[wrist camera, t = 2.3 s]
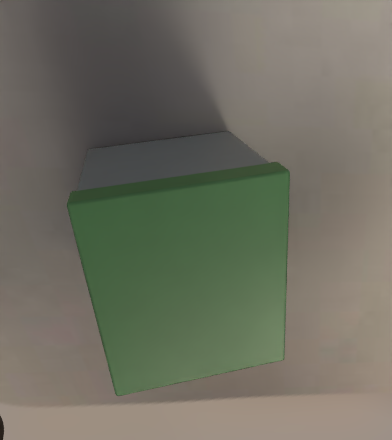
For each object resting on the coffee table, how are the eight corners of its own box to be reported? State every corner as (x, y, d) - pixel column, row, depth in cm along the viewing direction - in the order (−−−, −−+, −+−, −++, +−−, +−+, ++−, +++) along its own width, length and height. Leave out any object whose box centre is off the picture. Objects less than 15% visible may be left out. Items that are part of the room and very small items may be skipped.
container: (238, 272, 16) (285, 360, 12) (116, 295, 15) (115, 398, 11) (232, 127, 13) (290, 170, 9) (83, 146, 13) (65, 203, 8)
